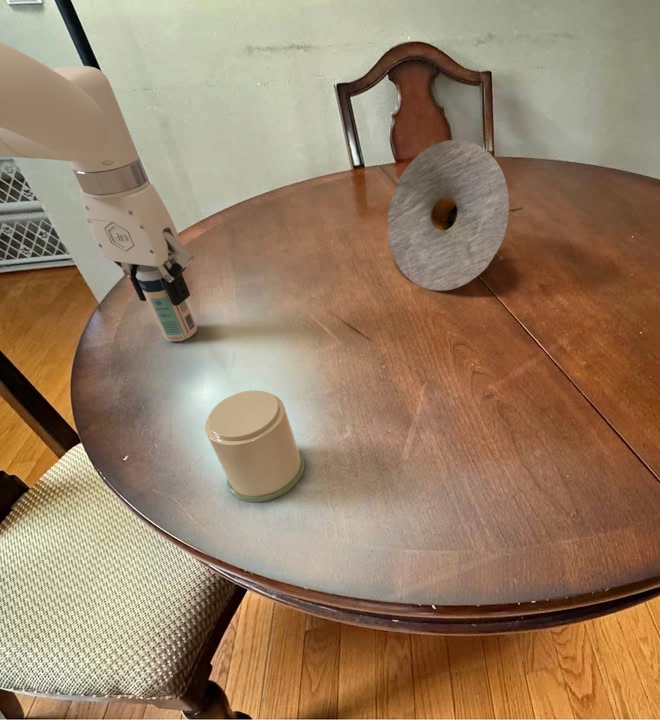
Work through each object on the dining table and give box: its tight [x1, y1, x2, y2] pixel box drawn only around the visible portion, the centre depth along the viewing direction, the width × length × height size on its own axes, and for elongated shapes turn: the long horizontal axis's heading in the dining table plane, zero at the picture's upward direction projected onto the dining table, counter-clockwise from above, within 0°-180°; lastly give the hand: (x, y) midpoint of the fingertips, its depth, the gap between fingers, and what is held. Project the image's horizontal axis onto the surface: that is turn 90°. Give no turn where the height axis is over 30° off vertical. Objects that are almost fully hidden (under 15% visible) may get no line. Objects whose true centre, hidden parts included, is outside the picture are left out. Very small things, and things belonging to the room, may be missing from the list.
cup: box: [204, 389, 305, 503], centre depth 61 cm, size 8×8×10 cm
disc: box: [387, 139, 524, 291], centre depth 98 cm, size 25×18×25 cm
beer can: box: [136, 262, 198, 342], centre depth 82 cm, size 5×5×12 cm
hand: (165, 297), depth 82 cm, fingers closed on beer can, 4 cm apart
